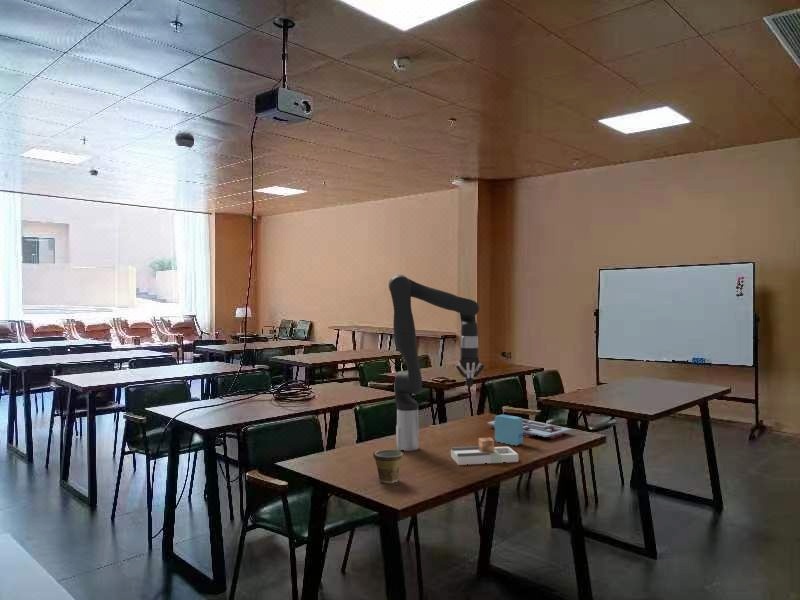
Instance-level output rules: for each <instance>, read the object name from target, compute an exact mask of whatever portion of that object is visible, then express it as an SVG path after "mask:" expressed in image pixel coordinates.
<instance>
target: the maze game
mask: <svg viewBox="0 0 800 600" xmlns="http://www.w3.org/2000/svg"><path fill="white" fill-rule="evenodd" d="M522 420H523V435H524V436H523V437H525V436H528V437H527V438H529V437H530V438H532V437H531V436H533V437H534V436H536V435H538V436H537V437H540V436H542V437H541V438H545V437H547V438H546V439H549V438H553V439H556V438H555V437H557V438H560V437H563V434H564V433H567V432H571V431H572V428H568V427H563V426H558V425H554V424H549V423H545V422H540V421H535V420H529V419H525V418H522ZM486 424H487V425H490V426H492V427H491V429H493V428H494V429H493V430H495V420H492V421H488V422H487V423H486ZM559 436H560V437H559Z"/></svg>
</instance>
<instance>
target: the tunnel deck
mask: <svg viewBox="0 0 800 600" xmlns="http://www.w3.org/2000/svg"><path fill="white" fill-rule="evenodd" d="M450 457H451V458H452V459H453V461H455V463H456V464H457V465H458V466H465V465H467V464H468V465H486V464H485V463H487V464H503V462H506V463H519V454H518V453H517V452H516V451H514V449H512V448H511V447H510V446H508V445H507V446H494V453H490V452H480V451H479V445H477V446H476V445H474V446H473V445H471V446H457V447H456V446H453V447H451V448H450Z"/></svg>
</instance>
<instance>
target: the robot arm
mask: <svg viewBox="0 0 800 600" xmlns="http://www.w3.org/2000/svg"><path fill="white" fill-rule="evenodd" d="M388 289H389V292H390V295H391V300H392V306H393V326H392V327H393V340H394V344H395V347H396V349H397V351H398V352H399V353H400V355H401V356H402V358H403V360H404V362H405V364H406V367H407V368H406V369H407V371H398V372H397V373H396V375H395V378H394V397H395V399H394V400H395V404H396V425H395V434H396V436H395V441H396V442H395V445H396V446H395V447H396V450H398V451H401V450H404V451H403V452H413V450H414V451H418V450H419V403H418V402H417V401H416V400H415V399H413V398H412V397H411V395H418V394H419V393H420V392H421V391H422V387H423V379H422V378H423V377H422V372H421V367H420V361H419V357H418V348H417V347H418V345H417V336H416V335H417V334H416V327H415V320H414V315H413V311H412V299H411V298H414V299H417V300H421V301H424V302H426V303H428V304H431V305H433V306H435V307H437V308H441V309H444V310H448V311H452V312H456V313H458V314H459V317H460V324H461V325H460V326H461V327H460V335H461V336H460V360H459V363H457V364H455V365H454V368H455V369H456V370H457V372H458V373H459V375H460V376H461V377H463V378H465V386H467V387H468V388H471V387H473V386H474V378H476V377H478V376H479V375H480V374H481V372H482V370H484V368H485V364H482V363H481V362H480V360H479V337H478V336H479V335H478V334H479V331H478V329H479V327H478V324H477V322H476V320H477V318H476V315H477V314H479V311H480V306H479V304H478V303H477V301H475V300H473V299H470V298H465V297H462V296H458V295H455V294H453V293H451V292H447V291H444V290H441V289H437V288H434V287H429V286H426V285H424V284H421V283H418V282H416V281H414V280H412V279H410V278H409V277H407V276H406V275H404V274H395V275H393V276H392V277H391V278H390V280H389V281H388ZM462 368H463V370H464V371H463V370H462ZM476 368H477V369H476Z"/></svg>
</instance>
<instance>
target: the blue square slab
mask: <svg viewBox="0 0 800 600" xmlns="http://www.w3.org/2000/svg"><path fill="white" fill-rule="evenodd" d="M522 419H523V418H522V417H521V416H520V417H519V416H514V415H509V414H498V415H496V416H495V417H494V421H495V429H494V442H496V443H498V442H500V443H499V444H503V443H505V444H504V445H508V444H510V445H509V446H513V445H515V447H516V446H519V445H521V444H522V445H523V443H524V436H523V420H522Z"/></svg>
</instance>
